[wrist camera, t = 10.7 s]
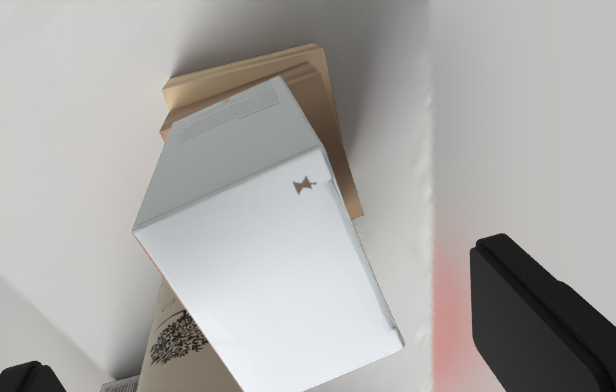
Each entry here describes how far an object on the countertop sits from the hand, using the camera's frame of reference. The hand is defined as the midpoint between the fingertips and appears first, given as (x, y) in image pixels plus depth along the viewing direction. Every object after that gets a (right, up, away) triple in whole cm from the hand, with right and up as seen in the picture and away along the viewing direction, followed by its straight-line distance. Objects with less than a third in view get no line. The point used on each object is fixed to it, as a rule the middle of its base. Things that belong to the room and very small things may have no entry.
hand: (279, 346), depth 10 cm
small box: (-2, +5, +13) cm, 14 cm away
